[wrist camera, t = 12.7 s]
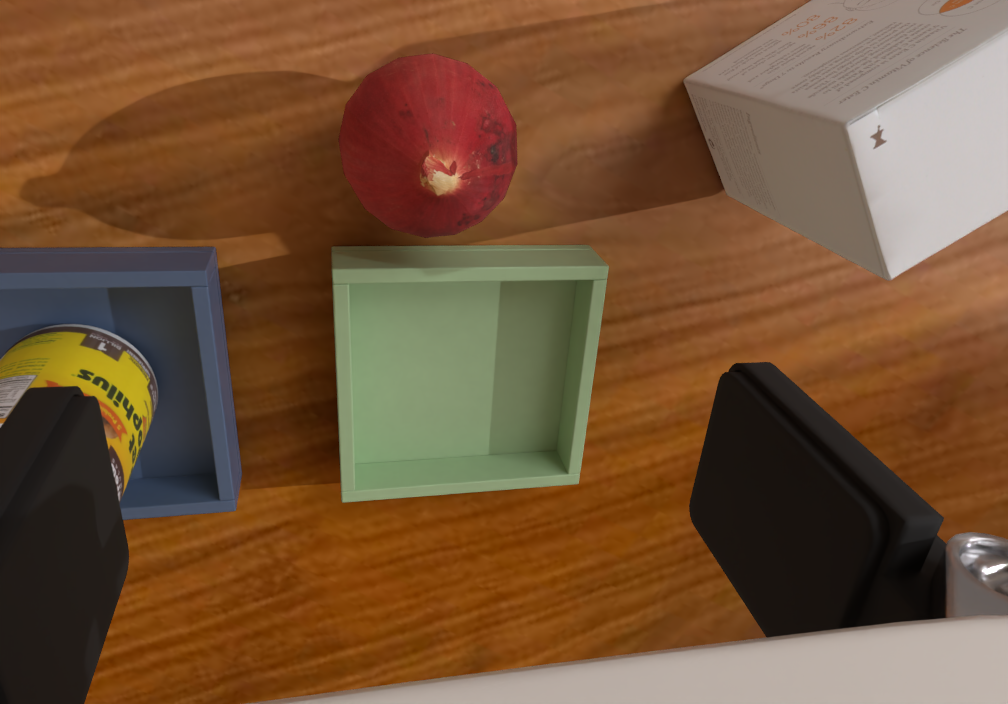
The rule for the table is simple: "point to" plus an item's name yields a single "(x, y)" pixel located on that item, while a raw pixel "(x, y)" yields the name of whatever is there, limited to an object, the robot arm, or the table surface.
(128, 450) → the supplement bottle
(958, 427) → the table surface
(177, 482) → the slate tray
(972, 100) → the small box
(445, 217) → the onion
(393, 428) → the green tray
